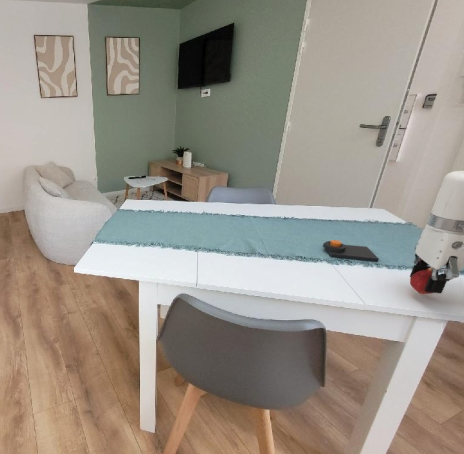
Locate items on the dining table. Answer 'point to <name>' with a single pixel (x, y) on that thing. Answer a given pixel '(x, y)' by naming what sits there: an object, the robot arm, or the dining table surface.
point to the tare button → (335, 243)
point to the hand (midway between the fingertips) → (424, 284)
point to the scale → (350, 252)
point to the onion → (421, 280)
